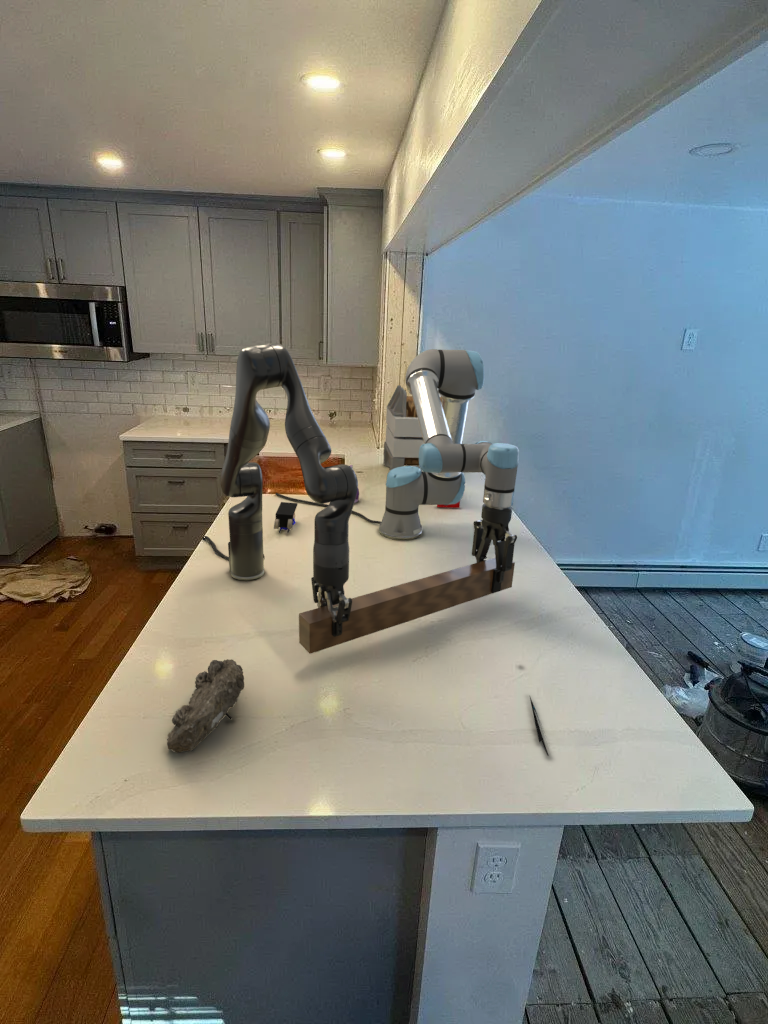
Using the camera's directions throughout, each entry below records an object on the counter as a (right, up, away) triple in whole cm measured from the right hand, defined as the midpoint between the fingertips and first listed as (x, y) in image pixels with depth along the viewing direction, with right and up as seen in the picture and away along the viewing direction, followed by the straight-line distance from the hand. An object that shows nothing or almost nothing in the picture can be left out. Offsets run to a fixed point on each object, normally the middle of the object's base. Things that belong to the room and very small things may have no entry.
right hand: (488, 587), depth 152 cm
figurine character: (-62, +14, +49) cm, 80 cm away
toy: (-2, +26, +89) cm, 93 cm away
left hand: (-40, -6, -27) cm, 48 cm away
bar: (-20, -4, -13) cm, 24 cm away
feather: (+2, -20, -37) cm, 42 cm away
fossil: (-61, -19, -44) cm, 77 cm away
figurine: (-42, +24, +79) cm, 93 cm away
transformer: (-11, +39, +123) cm, 130 cm away
